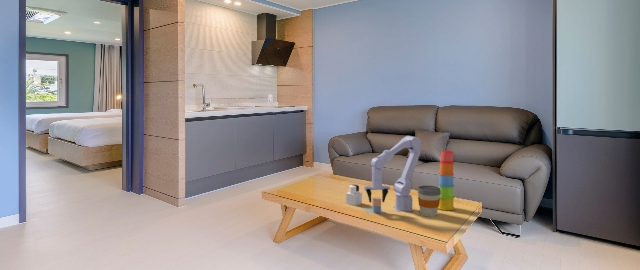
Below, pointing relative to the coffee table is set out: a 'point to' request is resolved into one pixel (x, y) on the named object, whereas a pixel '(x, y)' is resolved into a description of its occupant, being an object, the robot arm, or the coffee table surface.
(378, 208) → the blue brick
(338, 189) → the coffee table surface
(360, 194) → the medicine bottle
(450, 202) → the stacking cups
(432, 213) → the reusable coffee cup
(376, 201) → the salmon orange cube
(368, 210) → the plate
